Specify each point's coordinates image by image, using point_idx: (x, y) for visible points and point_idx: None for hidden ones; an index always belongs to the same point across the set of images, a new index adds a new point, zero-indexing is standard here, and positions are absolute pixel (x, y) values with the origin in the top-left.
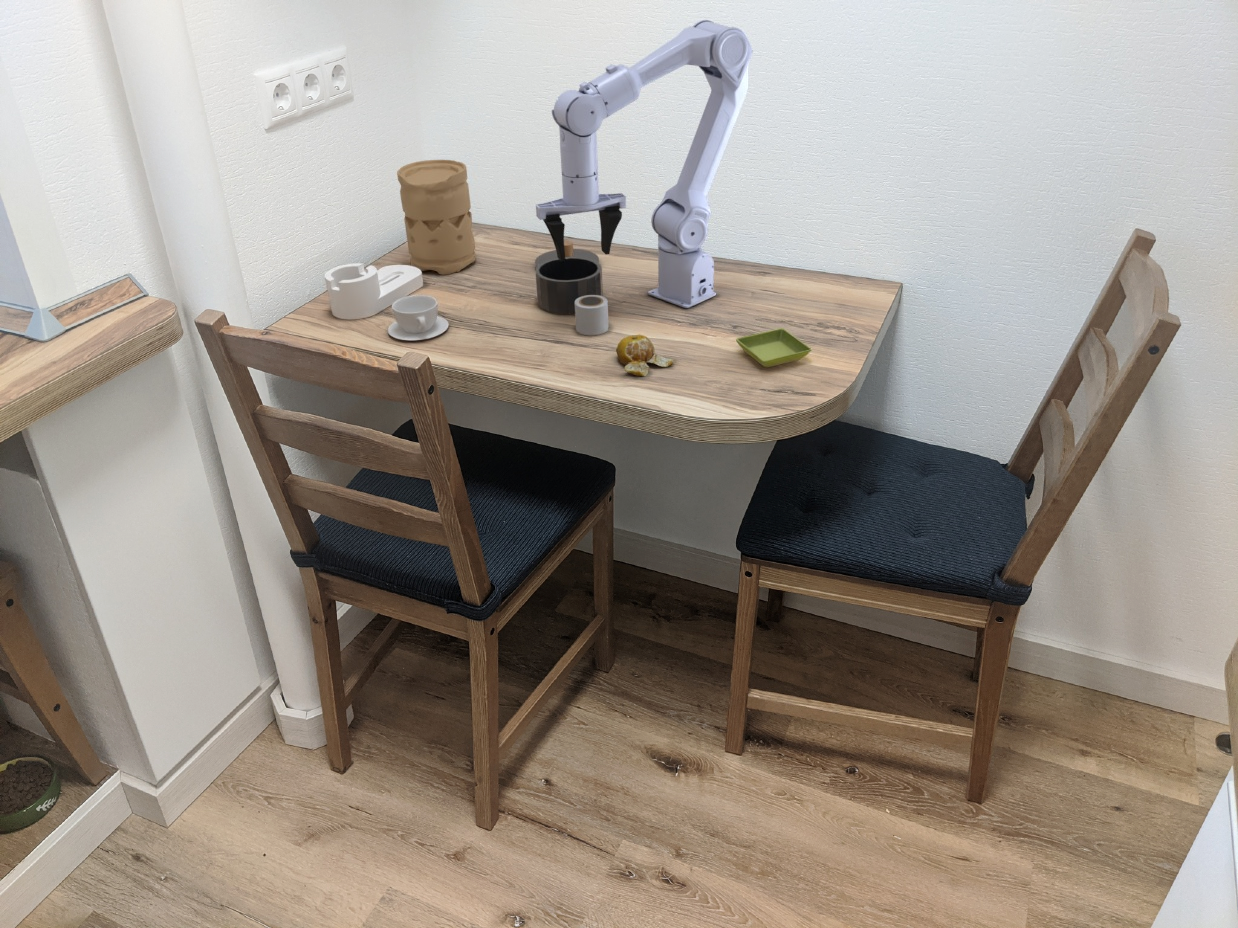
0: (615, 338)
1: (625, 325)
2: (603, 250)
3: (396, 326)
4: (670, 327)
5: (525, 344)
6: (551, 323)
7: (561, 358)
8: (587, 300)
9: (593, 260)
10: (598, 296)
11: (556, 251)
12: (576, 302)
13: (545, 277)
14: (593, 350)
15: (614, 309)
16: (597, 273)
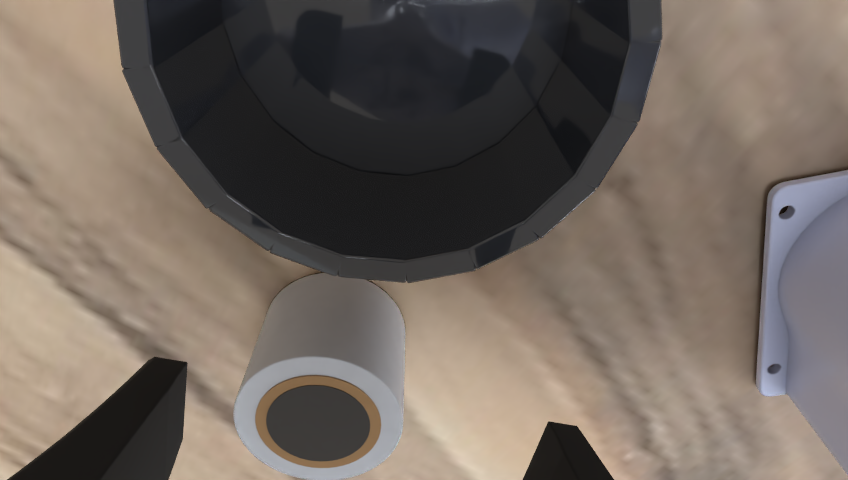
0: None
1: (466, 371)
2: (537, 466)
3: None
4: None
5: (18, 305)
6: (192, 194)
7: None
8: (304, 414)
9: (657, 15)
10: (380, 399)
11: (124, 384)
12: (246, 398)
13: (158, 105)
14: (254, 458)
15: None
16: (513, 250)
